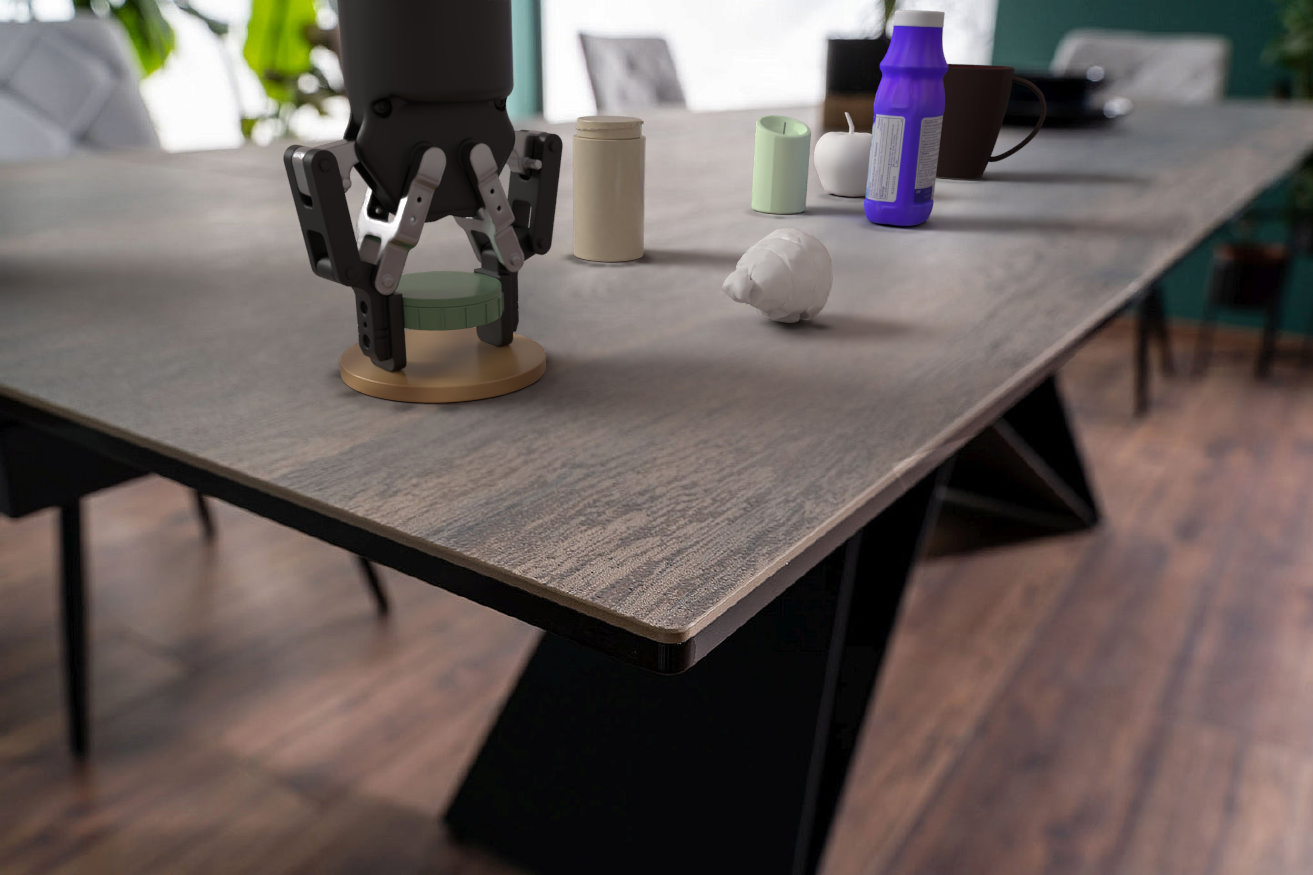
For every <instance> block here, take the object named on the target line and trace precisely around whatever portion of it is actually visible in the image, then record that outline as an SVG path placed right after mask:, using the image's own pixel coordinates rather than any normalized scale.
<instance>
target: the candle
mask: <svg viewBox="0 0 1313 875" xmlns="http://www.w3.org/2000/svg"><path fill="white" fill-rule="evenodd" d="M811 141H812V131H811V128H810V127H809V126H808V124H806V123H805V122H804V121H803V122H802V121H800V120H798V119H796V118H792V117H788V116H785V115H779V114H778V115H777V114H776V115H774V114H769V115H763V116H760V117H758V118H757V120H756V121H755V135H754V154H753V170H752V171H753V172H752V190H751V205H750V206H751V209H752V210H754V211H756V212H759V213H763V214H772V215H773V214H774V215H795V214H800V213H803V212H804V211H806V208H807V196H808V184H809V183H808V181H809V180H808V179H809V168H810V156H811V155H810V154H811Z"/></svg>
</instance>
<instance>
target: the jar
mask: <svg viewBox="0 0 1313 875" xmlns="http://www.w3.org/2000/svg"><path fill="white" fill-rule="evenodd" d="M643 125H644V120H642V118H640V117H633V116H625V115H623V116H622V115H586V116H584V115H583V116H579V117H577V119H576V125H575V131H576V134H573V135H572V222H573V223H572V224H573V225H572V229H573V231H572V232H573V233H572V234H573V235H572V236H573V238H572V239H573V240H572V242H573V243H572V244H573V255H574V256H575V257H576V258H579V259H582V260H586V261H591V262H605V263H608V262H609V263H615V262H627V261H635V260H638V259H641V258H642V257H644V254H645V247H644V246H645V199H646V154H647V153H646V146H647V145H646V144H647V137H646V136H645V135H643V134H642V131H643Z"/></svg>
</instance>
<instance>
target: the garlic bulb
mask: <svg viewBox="0 0 1313 875" xmlns="http://www.w3.org/2000/svg"><path fill="white" fill-rule="evenodd" d="M833 280H834V270H833V262H832V257H831V254H830V251H829V250H828V248H827V247H826V245H825V244H824V243H823V242H822V241H821V240H820V239H819V238H817V237H816V236H814V235H812V234H810V233H808V232H807V231H804V230H801V229H798V228H789V227H780V228H777V229H774V230H773V231H772V232H770V233H769V234H767V235H766V236H764V237H763V238H761V239H760V240H759V241H758V242H756V243H754V244H753V245H751V246H750V247H749V248H748V249H747V250H746V251H745V252H744V253H743V255H742V256H741V258H740V259H739V260H738V261H737V263H736V267H735V270H734V271H732V272H731V273H729V274H728V276H726V278H725V279H724V281H723V282H722V291H723V292H724V293H725V295H727V296H728V297H729V298H730V300H732V301H734V302H736V303H739V304H746V305H750V306H751V307H754V308H755V310H756V312H757V313H759V314H760V315H762V317H763V318H765V319H767V320H771V321H772V320H773V321H776V322H778V323H779V322H780V323H786V324H793V323H798V322H799V321H800V320H811V319H813V318H815V317H816V316H818V315H819V313H820V312H821V311H822V310H823V309H824V307H826V304H827V302H828V300H829V296H830V294H831V293H830V292H831V289H832V287H833V286H832V285H833Z"/></svg>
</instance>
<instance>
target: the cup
mask: <svg viewBox="0 0 1313 875" xmlns="http://www.w3.org/2000/svg"><path fill="white" fill-rule="evenodd" d="M947 64H948V66H949V67H948V71H947V72H946V73H945V75H944V77H943V84H944V91H945V110H944V113H943V120H942V128H941V136H940V145H939V154H938V162H937V171H936V179H947V180H948V179H949V180H964V181H965V180H966V181H975V180H978V179H981V178H982V177H983V175H984V173H985V171H986V169H987V166H988V165H989V163H997V162H1000V161H1003V160H1005V159H1007V158H1009V157H1011V156H1012V155H1014V154H1016V153H1017V152H1019V151H1020V150H1021V149H1023V148H1024V147H1026V146H1027V145H1028V144H1029V143H1030V142H1031V141H1032V140H1033V139H1034V138H1035V137H1036V136H1037V134H1038V133H1039V131H1040V130H1041V128H1042V126H1043V124H1044V123H1045V120H1046V116H1047V102H1046V98H1045V95H1044V93H1043V92H1042V90H1041V89H1040V88H1039V87H1038V86H1037V85H1035V83H1033V82H1032V81H1030V80H1028V79H1027V78H1026V79H1025V78H1024V77H1019V76H1015V72H1016V71H1015V70H1016V69H1015V67H1013V66H1006V65H991V64H969V63H968V64H966V63H947ZM1013 83H1015V84H1019V85H1022V86H1025V87H1026V88H1028V89H1029V90H1030V91H1032V92H1033V93H1034V94H1035V95H1036V96H1037V99H1038V101H1039V104H1040V116H1039V119H1038V121H1037V123H1036V125H1035V127H1034V128H1033V129H1032V131H1031V132H1030V133H1029V134H1028V135H1027V136H1026V137H1025V138H1024V139H1023V140H1021V142H1019V143H1018V144H1016V145H1015V146H1013V147H1012V148H1010V149H1008V150H1007V151H1005V152H1003V153H1000V154H997V155H994V156H993V152H994V150H995V147H996V144H997V141H998V138H999V134H1000V132H1001V129H1002V125H1003V122H1004V118H1005V115H1006V112H1007V109H1008V105H1009V100H1010V98H1011V93H1012V88H1013Z"/></svg>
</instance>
